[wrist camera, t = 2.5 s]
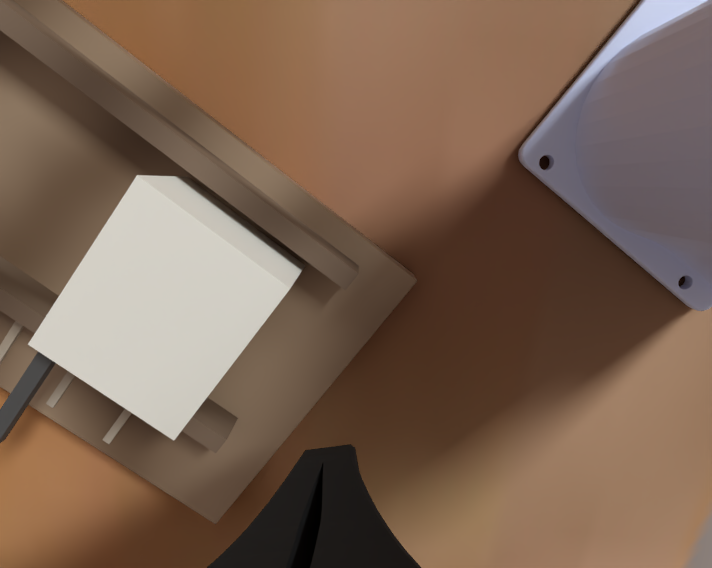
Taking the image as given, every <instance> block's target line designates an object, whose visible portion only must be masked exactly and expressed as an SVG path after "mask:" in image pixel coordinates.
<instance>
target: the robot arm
mask: <svg viewBox="0 0 712 568" xmlns="http://www.w3.org/2000/svg"><path fill="white" fill-rule="evenodd" d="M544 155H545V156H547V157H548V159H549V163H550V164H549V166H548V168H547V169H545V170H543V169H541V167H540V166H539V161H540V158H541V157H542V156H544ZM518 157H519V161H520V162H521V164H522V165H523V166H524V167H525V168H526V169H528V170H529V171H530V172H531V173H532V174H533V175H535V176H536V177H537V178H538V179H539V180H540V181H542V182H543V183H544V184H545V185H546V186H548V187H549V188H550V189H551V190H552V191H553V192H555V193H556V194H557V195H558V196H559V197H560V198H562V199H563V200H564V201H565V202H566V203H567V204H569V205H570V206H571V207H572V208H573V209H574V210H576V211H577V212H578V213H579V214H580V215H581V216H583V217H584V218H585V219H586V220H587V221H588V222H590V223H591V224H592V225H593V226H594V227H595V228H597V229H598V230H599V231H600V232H601V233H602V234H604V235H605V236H606V237H607V238H608V239H610V240H611V241H612V242H613V243H614V244H615V245H617V246H618V247H619V248H620V249H621V250H622V251H624V252H625V253H626V254H627V255H628V256H629V257H631V258H632V259H633V260H634V261H635V262H636V263H638V264H639V265H640V266H641V267H642V268H643V269H645V270H646V271H647V272H648V273H649V274H650V275H652V276H653V277H654V278H655V279H656V280H657V281H659V282H660V283H661V284H662V285H663V286H665V287H666V288H667V289H668V290H669V291H670V292H672V293H673V294H674V295H675V296H676V297H677V298H679V299H680V300H681V301H682V302H683V303H684V304H686V305H687V306H688V307H690V308H692V309H695V310H697V311H704V310H707V309H709V308H710V307H712V0H641V1H640V2H639V4H638V5H637V6H636V7H635V9H634V10H633V11H632V12H631V13H630V15H629V16H628V17H627V18H626V19H625V21H624V22H623V23H622V24H621V26H620V27H619V28H618V29H617V30H616V32H615V33H614V34H613V35H612V36H611V38H610V39H609V40H608V41H607V42H606V44H605V45H604V46H603V47H602V49H601V50H600V51H599V52H598V53H597V55H596V56H595V57H594V58H593V59H592V61H591V62H590V63H589V64H588V66H587V67H586V68H585V69H584V70H583V72H582V73H581V74H580V75H579V76H578V78H577V79H576V80H575V81H574V82H573V84H572V85H571V86H570V87H569V89H568V90H567V91H566V92H565V93H564V95H563V96H562V97H561V98H560V99H559V101H558V102H557V103H556V104H555V106H554V107H553V108H552V109H551V110H550V112H549V113H548V114H547V115H546V116H545V118H544V119H543V120H542V121H541V122H540V124H539V125H538V126H537V127H536V129H535V130H534V131H533V132H532V133H531V135H530V136H529V137H528V138H527V139H526V141H525V142H524V143H523V144H522V146H521V148H520V149H519V154H518ZM683 276H685V282H684V284H683V285H681V286H680V287H679V285H678V281H679V280H680V278H681V277H683ZM207 568H421V567H420V566H419V565H418V563H417V562H416V561H415V560H414V559H413V558H412V557H411V556H410V555H409V554H408V552H407V551H406V550H405V549H404V548H403V546H402V545H401V544H400V542H399V541H398V540H397V539H396V537H395V536H394V534H393V533H392V532H391V530H390V529H389V527H388V526H387V524H386V523H385V521H384V520H383V518H382V517H381V515H380V513H379V512H378V510H377V508H376V506H375V505H374V503H373V501H372V499H371V497H370V495H369V493H368V491H367V489H366V487H365V485H364V482H363V480H362V478H361V475H360V473H359V468H358V462H357V456H356V450H355V447H353V446H352V445H351V444H350V445H342V446H335V447H327V448H320V449H312V450H306V451H305V452H304V453H303V455H302V456H301V457H300V459H299V460H298V462H297V463H296V465H295V466H294V468H293V469H292V471H291V472H290V473H289V475H288V476H287V478H286V479H285V481H284V482H283V483H282V485H281V486H280V488H279V489H278V490H277V492H276V493H275V494H274V496H273V497H272V498H271V500H270V501H269V502H268V504H267V505H266V506H265V507H264V509H263V510H262V511H261V512H260V513H259V515H258V516H257V517H256V518H255V520H254V521H253V522H252V523H251V524H250V526H249V527H248V528H247V529H246V530H245V531H244V532H243V533H242V534H241V535H240V537H239V538H238V539H237V540H236V541H235V542H234V543H233V544H232V545H231V546H230V547H229V548H228V549H227V550H226V551H225V552H224V553H223V554H222V555H221V556H219V557H218V558H217V559H216V560H215V561H214V562H213V563H212V564H210V565H209V566H208V567H207Z"/></svg>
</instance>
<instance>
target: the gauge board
mask: <svg viewBox="0 0 712 568" xmlns="http://www.w3.org/2000/svg"><path fill="white" fill-rule="evenodd" d="M137 175H148V176H182V177H188V178H190V179H191V180H192V181H194V182H195V183H196V184H198V185H199V186H200V187H202V188H203V189H204V190H206V191H207V192H208V193H210V194H211V195H212V196H214V197H215V198H216V199H217V200H219V201H220V202H221V203H223V204H224V205H225V206H227V207H228V208H229V209H231V210H232V211H233V212H235V213H236V214H237V215H239V216H240V217H241V218H243V219H244V220H245V221H247V222H248V223H249V224H251V225H252V226H253V227H255V228H256V229H257V230H259V231H260V232H261V233H263V234H264V235H265V236H267V237H268V238H269V239H271V240H272V241H273V242H275V243H276V244H277V245H279V246H280V247H281V248H283V249H284V250H285V251H287V252H288V253H289V254H291V255H292V256H293V257H295V258H296V259H297V260H299V261H300V262H301V263H303V264H304V265H305V267H304V269H303V270H302V272H301V273H300V275H299V276H298V278H297V279H296V281H295V282H294V284H293V285H292V287H291V288H290V290H289V291H288V292H287V294H286V295H285V296H284V298H283V299H282V300H281V301H280V303H279V304H278V305H277V307H276V308H275V309H274V311H273V312H272V313H271V315H270V316H269V317H268V318H267V320H266V321H265V322H264V324H263V325H262V326H261V328H260V329H259V330H258V332H257V333H256V334H255V335H254V337H253V338H252V339H251V341H250V342H249V343H248V345H247V346H246V347H245V349H244V350H243V351H242V352H241V354H240V355H239V356H238V358H237V359H236V360H235V362H234V363H233V364H232V366H231V367H230V368H229V369H228V371H227V372H226V373H225V375H224V376H223V377H222V379H221V380H220V381H219V383H218V384H217V385H216V386H215V388H214V389H213V390H212V392H211V393H210V394H209V396H208V397H207V398H206V399H205V401H204V402H203V403H202V405H201V406H200V407H199V409H198V410H197V411H196V413H195V414H194V415H193V416H192V418H191V419H190V420H189V422H188V423H187V424H186V426H185V427H184V428H183V430H182V431H181V432H180V433H179V435H178V436H177V437H176V439H175V440H172V439H171V438H169V437H168V436H166V435H165V434H163V433H161V432H160V431H158V430H157V429H155V428H154V427H152V426H151V425H149V424H148V423H146V422H145V421H143V420H142V419H140V418H139V417H137V416H136V415H134V414H133V413H131V412H130V411H128V410H127V409H125V408H124V407H122V406H120V405H119V404H117V403H116V402H114V401H113V400H111V399H110V398H108V397H107V396H105V395H104V394H102V393H101V392H99V391H98V390H96V389H95V388H93V387H92V386H90V385H89V384H87V383H86V382H84V381H83V380H81V379H79V378H78V377H76V376H75V375H73V374H72V373H70V372H69V371H67V370H66V369H64V368H63V367H61V366H60V365H58V364H57V363H56V364H55V365H54V367H53V368H52V370H51V371H50V373H49V374H48V376H47V377H46V379H45V380H44V382H43V383H42V385H41V386H40V388H39V389H38V391H37V392H36V394H35V395H34V397H33V398H32V400H31V401H30V403H29V404H28V405H30V406H31V407H33V408H34V409H36V410H37V411H39V412H41V413H42V414H44V415H45V416H47V417H48V418H50V419H52V420H53V421H55V422H56V423H58V424H59V425H61V426H62V427H64V428H66V429H67V430H69V431H70V432H72V433H73V434H75V435H77V436H78V437H80V438H81V439H83V440H84V441H86V442H88V443H89V444H91V445H92V446H94V447H95V448H97V449H98V450H100V451H102V452H103V453H105V454H106V455H108V456H109V457H111V458H113V459H114V460H116V461H117V462H119V463H120V464H122V465H123V466H125V467H127V468H128V469H130V470H131V471H133V472H134V473H136V474H138V475H139V476H141V477H142V478H144V479H145V480H147V481H149V482H150V483H152V484H153V485H155V486H156V487H158V488H159V489H161V490H163V491H164V492H166V493H167V494H169V495H170V496H172V497H174V498H175V499H177V500H178V501H180V502H181V503H183V504H185V505H186V506H188V507H189V508H191V509H192V510H194V511H195V512H197V513H199V514H200V515H202V516H203V517H205V518H206V519H208V520H210V521H211V522H213V523H214V524H216V523H217V522H218V521H219V520H220V518H221V517H222V516H223V515H224V514H225V512H226V511H227V510H228V509H229V508H230V506H231V505H232V504H233V503H234V501H235V500H236V499H237V498H238V497H239V495H240V494H241V493H242V492H243V491H244V489H245V488H246V487H247V486H248V485H249V483H250V482H251V481H252V480H253V479H254V477H255V476H256V475H257V474H258V473H259V471H260V470H261V469H262V468H263V467H264V465H265V464H266V463H267V462H268V460H269V459H270V458H271V457H272V456H273V454H274V453H275V452H276V451H277V450H278V448H279V447H280V446H281V445H282V444H283V442H284V441H285V440H286V439H287V438H288V436H289V435H290V434H291V433H292V432H293V430H294V429H295V428H296V427H297V426H298V424H299V423H300V422H301V421H302V419H303V418H304V417H305V416H306V415H307V413H308V412H309V411H310V410H311V409H312V407H313V406H314V405H315V404H316V403H317V401H318V400H319V399H320V398H321V397H322V395H323V394H324V393H325V392H326V391H327V389H328V388H329V387H330V386H331V384H332V383H333V382H334V381H335V380H336V378H337V377H338V376H339V375H340V374H341V372H342V371H343V370H344V369H345V368H346V366H347V365H348V364H349V363H350V362H351V360H352V359H353V358H354V357H355V356H356V354H357V353H358V352H359V351H360V350H361V348H362V347H363V346H364V345H365V343H366V342H367V341H368V340H369V339H370V337H371V336H372V335H373V334H374V333H375V331H376V330H377V329H378V328H379V327H380V325H381V324H382V323H383V322H384V321H385V319H386V318H387V317H388V316H389V315H390V313H391V312H392V311H393V310H394V308H395V307H396V306H397V305H398V304H399V302H400V301H401V300H402V299H403V298H404V296H405V295H406V294H407V293H408V292H409V290H410V289H411V288H412V287H413V286H414V284H415V283H416V282H417V279H416V278H415V276H414V274H413V273H411V272H410V271H409V270H407V269H406V268H405V267H404V266H402V265H401V264H400V263H399V262H397V261H396V260H395V259H393V258H392V257H391V256H390V255H388V254H387V253H386V252H384V251H383V250H382V249H381V248H379V247H378V246H377V245H375V244H374V243H373V242H372V241H370V240H369V239H368V238H366V237H365V236H364V235H363V234H361V233H360V232H359V231H357V230H356V229H355V228H354V227H352V226H351V225H350V224H348V223H347V222H346V221H345V220H343V219H342V218H341V217H339V216H338V215H337V214H336V213H334V212H333V211H332V210H331V209H329V208H328V207H327V206H325V205H324V204H323V203H322V202H320V201H319V200H318V199H316V198H315V197H314V196H313V195H311V194H310V193H309V192H307V191H306V190H305V189H304V188H302V187H301V186H300V185H298V184H297V183H296V182H295V181H293V180H292V179H291V178H289V177H288V176H287V175H286V174H284V173H283V172H282V171H280V170H279V169H278V168H277V167H275V166H274V165H273V164H271V163H270V162H269V161H268V160H266V159H265V158H264V157H263V156H261V155H260V154H259V153H257V152H256V151H255V150H254V149H252V148H251V147H250V146H248V145H247V144H246V143H245V142H243V141H242V140H241V139H239V138H238V137H237V136H236V135H234V134H233V133H232V132H230V131H229V130H228V129H227V128H225V127H224V126H223V125H221V124H220V123H219V122H218V121H216V120H215V119H214V118H212V117H211V116H210V115H209V114H207V113H206V112H205V111H203V110H202V109H201V108H200V107H198V106H197V105H196V104H194V103H193V102H192V101H191V100H189V99H188V98H187V97H186V96H184V95H183V94H182V93H180V92H179V91H178V90H177V89H175V88H174V87H173V86H171V85H170V84H169V83H168V82H166V81H165V80H164V79H162V78H161V77H160V76H159V75H157V74H156V73H155V72H153V71H152V70H151V69H150V68H148V67H147V66H146V65H144V64H143V63H142V62H141V61H139V60H138V59H137V58H135V57H134V56H133V55H132V54H130V53H129V52H128V51H126V50H125V49H124V48H123V47H121V46H120V45H119V44H118V43H116V42H115V41H114V40H112V39H111V38H110V37H109V36H107V35H106V34H105V33H103V32H102V31H101V30H100V29H98V28H97V27H96V26H94V25H93V24H92V23H91V22H89V21H88V20H87V19H85V18H84V17H83V16H82V15H80V14H79V13H78V12H76V11H75V10H74V9H73V8H71V7H70V6H69V5H67V4H66V3H65V2H64V1H62V0H0V387H1V388H3V389H5V390H6V391H8V392H9V393H11V392H12V391H13V389H14V388H15V386H16V385H17V383H18V382H19V380H20V378H21V377H22V375H23V374H24V372H25V371H26V369H27V368H28V366H29V365H30V363H31V362H32V360H33V359H34V357H35V356H36V354H37V352H38V351H37V350H35V349H34V348H32V347H31V346H29V345H28V343H29V342H30V340H31V339H32V337H33V336H34V334H35V332H36V331H37V329H38V328H39V326H40V325H41V323H42V322H43V320H44V319H45V317H46V315H47V314H48V312H49V311H50V309H51V308H52V306H53V305H54V303H55V302H56V300H57V298H58V297H59V295H60V294H61V292H62V291H63V289H64V288H65V286H66V284H67V283H68V281H69V280H70V278H71V277H72V275H73V274H74V272H75V271H76V269H77V267H78V266H79V264H80V263H81V261H82V260H83V258H84V257H85V255H86V253H87V252H88V250H89V249H90V247H91V246H92V244H93V243H94V241H95V240H96V238H97V236H98V235H99V233H100V232H101V230H102V229H103V227H104V226H105V224H106V223H107V221H108V219H109V218H110V216H111V215H112V213H113V212H114V210H115V209H116V207H117V205H118V204H119V202H120V201H121V199H122V198H123V196H124V195H125V193H126V192H127V190H128V188H129V187H130V185H131V184H132V182H133V181H134V179H135V178H136V176H137Z"/></svg>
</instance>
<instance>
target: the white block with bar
mask: <svg viewBox="0 0 712 568" xmlns="http://www.w3.org/2000/svg"><path fill="white" fill-rule="evenodd" d="M304 267H305V265H304V264H303V263H301V262H300V261H299V260H297V259H296V258H295V257H293V256H292V255H291V254H289V253H288V252H287V251H285V250H284V249H283V248H281V247H280V246H279V245H277V244H276V243H275V242H273V241H272V240H271V239H269V238H268V237H267V236H265V235H264V234H263V233H261V232H260V231H259V230H257V229H256V228H255V227H253V226H252V225H251V224H249V223H248V222H247V221H245V220H244V219H243V218H241V217H240V216H239V215H237V214H236V213H235V212H233V211H232V210H231V209H229V208H228V207H227V206H225V205H224V204H223V203H221V202H220V201H219V200H217V199H216V198H215V197H214V196H212V195H211V194H210V193H208V192H207V191H206V190H204V189H203V188H202V187H200V186H199V185H198V184H196V183H195V182H194V181H192V180H191V179H190V178H188V177H182V176H148V175H137V176H136V178H135V179H134V181H133V182H132V184H131V185H130V187H129V188H128V190H127V192H126V193H125V195H124V196H123V198H122V199H121V201H120V202H119V204H118V205H117V207H116V209H115V210H114V212H113V213H112V215H111V216H110V218H109V219H108V221H107V223H106V224H105V226H104V227H103V229H102V230H101V232H100V233H99V235H98V236H97V238H96V240H95V241H94V243H93V244H92V246H91V247H90V249H89V250H88V252H87V253H86V255H85V257H84V258H83V260H82V261H81V263H80V264H79V266H78V267H77V269H76V271H75V272H74V274H73V275H72V277H71V278H70V280H69V281H68V283H67V284H66V286H65V288H64V289H63V291H62V292H61V294H60V295H59V297H58V298H57V300H56V302H55V303H54V305H53V306H52V308H51V309H50V311H49V312H48V314H47V315H46V317H45V319H44V320H43V322H42V323H41V325H40V326H39V328H38V329H37V331H36V332H35V334H34V336H33V337H32V339H31V340H30V342H29V343H28V345H29V346H31V347H32V348H34V349H35V350H37V351H38V352H37V354H36V356H35V357H34V359H33V360H32V362H31V363H30V365H29V366H28V368H27V369H26V371H25V372H24V374H23V375H22V377H21V378H20V380H19V382H18V383H17V385H16V386H15V388H14V389H13V391H12V392H11V394H10V395H9V397H8V398H7V400H6V401H5V403H4V404H3V406H2V408H1V409H0V443H1V442H2V441H4V440H5V439H6V437H7V436H8V434H9V433H10V431H11V430H12V428H13V427H14V425H15V424H16V422H17V421H18V419H19V418H20V416H21V415H22V413H23V412H24V410H25V409H26V407H27V406H28V404H29V403H30V401H31V400H32V398H33V397H34V395H35V394H36V392H37V391H38V389H39V388H40V386H41V385H42V383H43V382H44V380H45V379H46V377H47V376H48V374H49V373H50V371H51V370H52V368H53V367H54V365H55V364H56V363H57V364H58V365H60V366H61V367H63V368H64V369H66V370H67V371H69V372H70V373H72V374H73V375H75V376H76V377H78V378H79V379H81V380H83V381H84V382H86V383H87V384H89V385H90V386H92V387H93V388H95V389H96V390H98V391H99V392H101V393H102V394H104V395H105V396H107V397H108V398H110V399H111V400H113V401H114V402H116V403H117V404H119V405H120V406H122V407H124V408H125V409H127V410H128V411H130V412H131V413H133V414H134V415H136V416H137V417H139V418H140V419H142V420H143V421H145V422H146V423H148V424H149V425H151V426H152V427H154V428H155V429H157V430H158V431H160V432H161V433H163V434H165V435H166V436H168V437H169V438H171V439H172V440H175V439H176V437H177V436H178V435H179V433H180V432H181V431H182V430H183V428H184V427H185V426H186V424H187V423H188V422H189V420H190V419H191V418H192V416H193V415H194V414H195V413H196V411H197V410H198V409H199V407H200V406H201V405H202V403H203V402H204V401H205V399H206V398H207V397H208V396H209V394H210V393H211V392H212V390H213V389H214V388H215V386H216V385H217V384H218V383H219V381H220V380H221V379H222V377H223V376H224V375H225V373H226V372H227V371H228V369H229V368H230V367H231V366H232V364H233V363H234V362H235V360H236V359H237V358H238V356H239V355H240V354H241V352H242V351H243V350H244V349H245V347H246V346H247V345H248V343H249V342H250V341H251V339H252V338H253V337H254V335H255V334H256V333H257V332H258V330H259V329H260V328H261V326H262V325H263V324H264V322H265V321H266V320H267V318H268V317H269V316H270V315H271V313H272V312H273V311H274V309H275V308H276V307H277V305H278V304H279V303H280V301H281V300H282V299H283V298H284V296H285V295H286V294H287V292H288V291H289V290H290V288H291V287H292V285H293V284H294V282H295V281H296V279H297V278H298V276H299V275H300V273H301V272H302V270H303V269H304Z"/></svg>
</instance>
